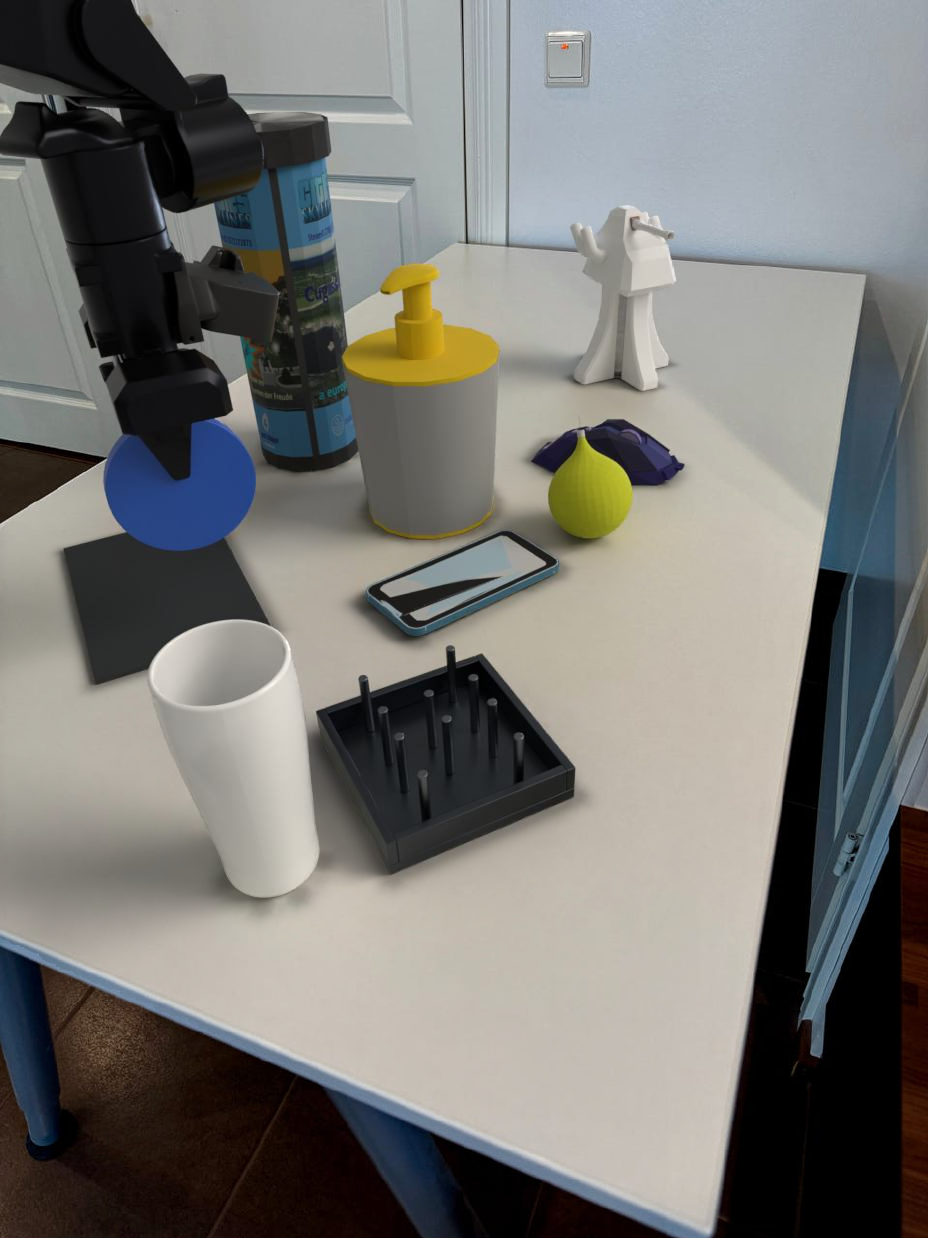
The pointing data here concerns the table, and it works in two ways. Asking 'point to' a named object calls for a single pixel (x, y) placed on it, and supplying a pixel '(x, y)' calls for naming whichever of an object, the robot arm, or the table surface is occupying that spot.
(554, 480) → the green fig
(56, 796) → the table surface
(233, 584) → the mat
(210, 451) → the plate
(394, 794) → the rack
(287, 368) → the advertising column
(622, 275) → the toy gun turret
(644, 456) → the computer mouse
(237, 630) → the drinking glass
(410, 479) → the soap bottle
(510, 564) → the smartphone
